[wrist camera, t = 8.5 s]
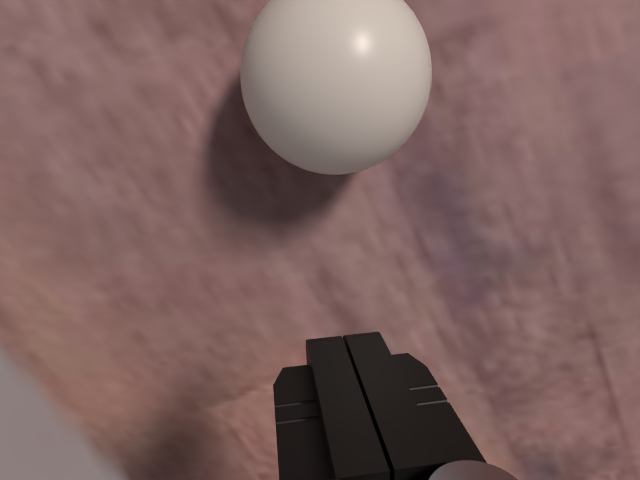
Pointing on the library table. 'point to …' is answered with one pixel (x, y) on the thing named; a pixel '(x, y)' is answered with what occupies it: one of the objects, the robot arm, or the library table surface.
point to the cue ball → (335, 81)
